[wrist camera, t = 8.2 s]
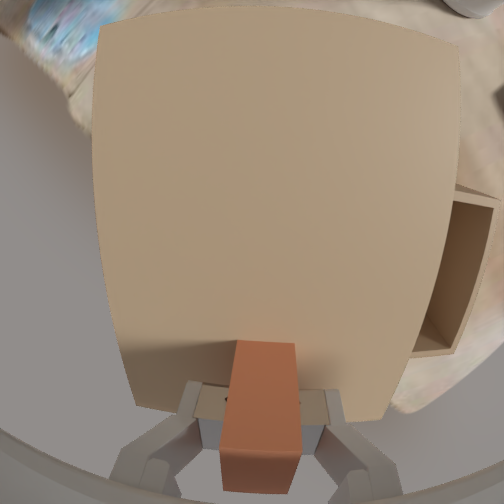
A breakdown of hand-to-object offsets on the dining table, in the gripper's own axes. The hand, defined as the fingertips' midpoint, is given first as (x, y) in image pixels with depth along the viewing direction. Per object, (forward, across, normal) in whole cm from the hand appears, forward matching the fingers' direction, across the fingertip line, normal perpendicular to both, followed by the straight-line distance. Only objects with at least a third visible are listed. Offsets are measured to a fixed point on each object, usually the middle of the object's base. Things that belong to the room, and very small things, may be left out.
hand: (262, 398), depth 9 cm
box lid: (+2, 0, -4) cm, 5 cm away
